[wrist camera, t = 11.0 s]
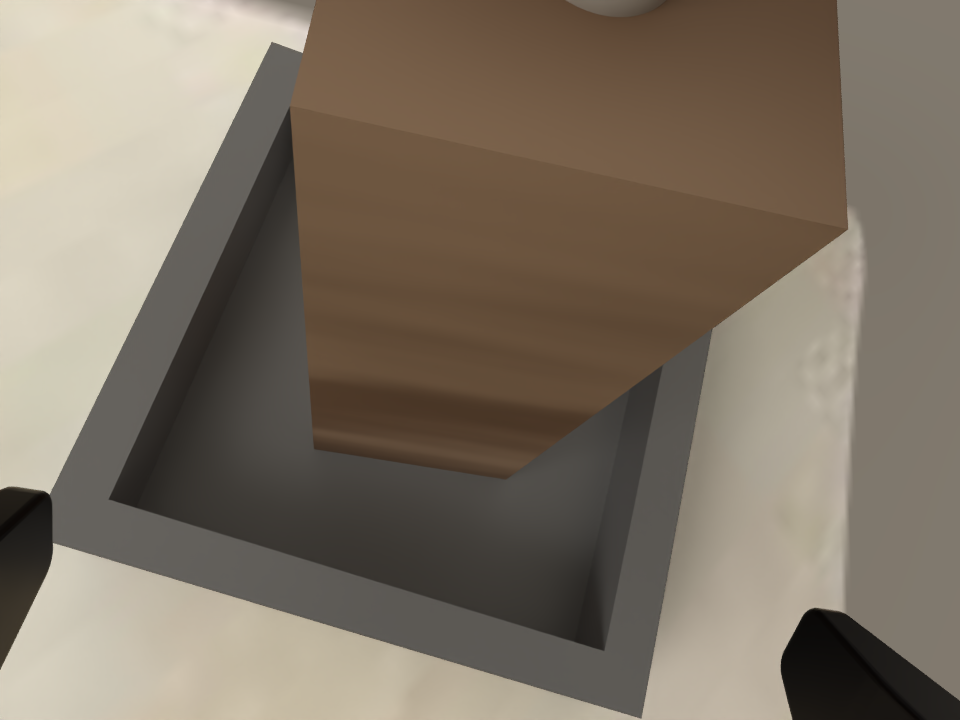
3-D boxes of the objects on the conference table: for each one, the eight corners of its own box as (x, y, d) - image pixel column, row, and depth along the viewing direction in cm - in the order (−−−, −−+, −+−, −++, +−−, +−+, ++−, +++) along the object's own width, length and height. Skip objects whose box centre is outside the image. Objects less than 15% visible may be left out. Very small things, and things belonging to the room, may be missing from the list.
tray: (591, 701, 18) (641, 718, 15) (79, 548, 17) (29, 535, 14) (681, 262, 22) (733, 211, 19) (279, 118, 21) (271, 41, 18)
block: (505, 479, 18) (1001, 114, 5) (313, 449, 17) (276, -66, 4) (525, 305, 19) (940, -331, 6) (349, 271, 19) (403, -514, 6)
